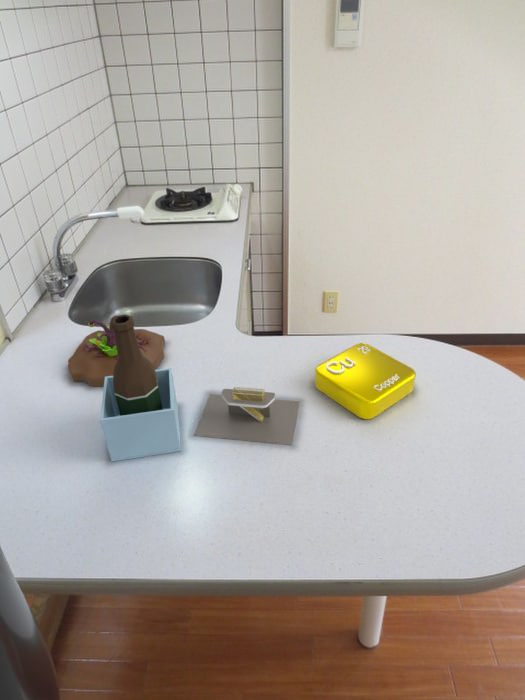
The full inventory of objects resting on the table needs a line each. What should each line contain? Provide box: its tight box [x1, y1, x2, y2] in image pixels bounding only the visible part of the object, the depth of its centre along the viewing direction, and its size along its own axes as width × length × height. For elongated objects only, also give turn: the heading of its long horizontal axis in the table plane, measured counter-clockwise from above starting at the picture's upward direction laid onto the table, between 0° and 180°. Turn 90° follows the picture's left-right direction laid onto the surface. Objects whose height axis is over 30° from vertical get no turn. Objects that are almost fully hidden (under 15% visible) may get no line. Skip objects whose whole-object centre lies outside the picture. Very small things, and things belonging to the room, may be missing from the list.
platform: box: [193, 386, 300, 446], centre depth 97 cm, size 12×18×7 cm, turn 80°
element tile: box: [314, 342, 417, 420], centre depth 104 cm, size 15×15×5 cm
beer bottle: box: [111, 314, 163, 416], centre depth 89 cm, size 8×8×24 cm
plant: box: [67, 315, 166, 387], centre depth 113 cm, size 20×20×11 cm
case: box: [99, 367, 182, 462], centre depth 94 cm, size 12×12×10 cm
